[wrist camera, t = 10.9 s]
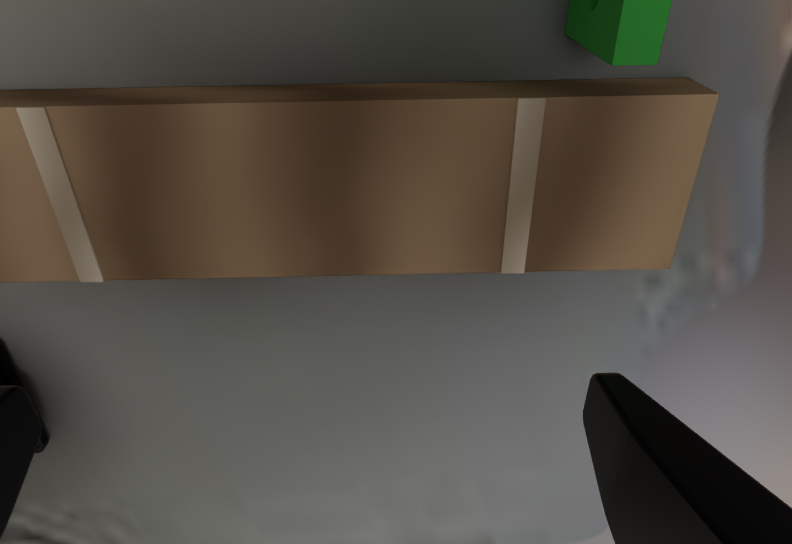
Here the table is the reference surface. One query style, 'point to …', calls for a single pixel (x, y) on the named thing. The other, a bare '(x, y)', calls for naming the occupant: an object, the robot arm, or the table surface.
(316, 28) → the table surface
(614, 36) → the pipe clamp
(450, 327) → the table surface
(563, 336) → the table surface
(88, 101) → the brown wooden plank
